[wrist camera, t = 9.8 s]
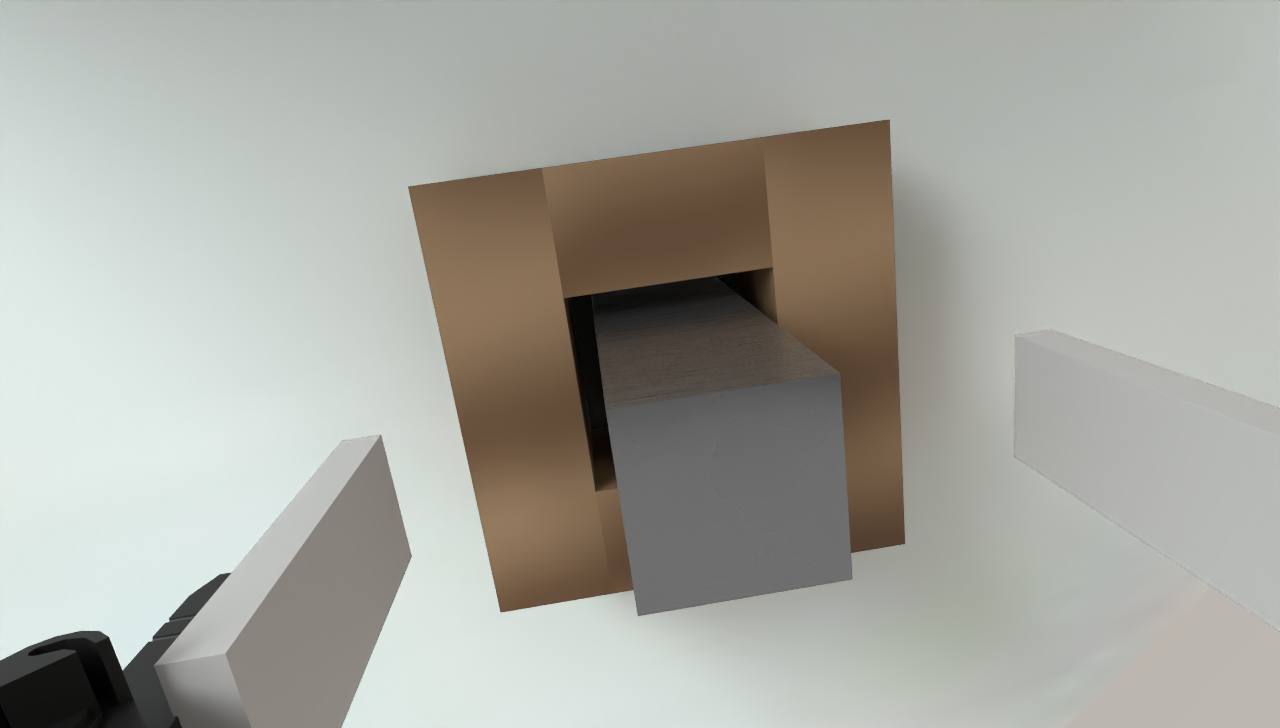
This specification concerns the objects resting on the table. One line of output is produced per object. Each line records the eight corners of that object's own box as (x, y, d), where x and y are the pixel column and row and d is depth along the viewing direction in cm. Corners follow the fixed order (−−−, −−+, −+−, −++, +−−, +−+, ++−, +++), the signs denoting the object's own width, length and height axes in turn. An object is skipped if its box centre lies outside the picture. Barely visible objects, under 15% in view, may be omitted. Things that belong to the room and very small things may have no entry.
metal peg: (590, 290, 23) (605, 409, 12) (710, 272, 24) (840, 372, 12) (608, 404, 24) (637, 616, 13) (722, 387, 25) (852, 579, 13)
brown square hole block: (444, 182, 22) (408, 186, 17) (822, 129, 23) (889, 119, 18) (514, 528, 25) (500, 612, 21) (843, 474, 26) (904, 543, 21)
